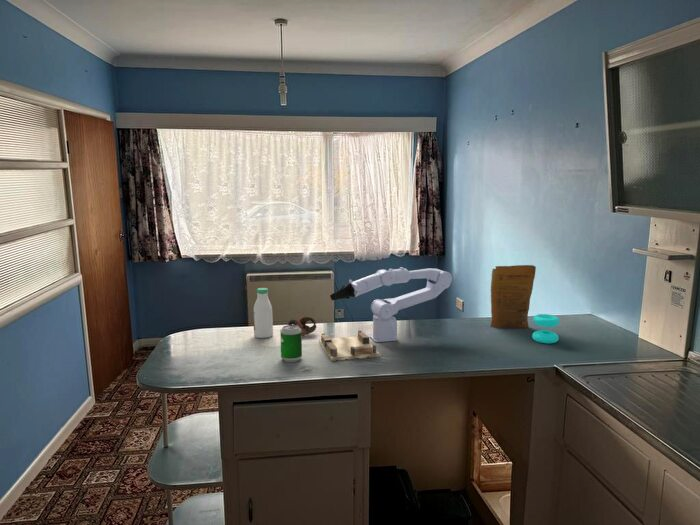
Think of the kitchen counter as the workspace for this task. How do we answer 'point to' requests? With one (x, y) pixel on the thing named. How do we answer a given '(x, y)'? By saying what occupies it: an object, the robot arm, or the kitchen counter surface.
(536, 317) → the donuts
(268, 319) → the milk bottle
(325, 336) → the folding leg
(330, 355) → the stool seat
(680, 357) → the kitchen counter surface
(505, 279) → the pancake mix bag
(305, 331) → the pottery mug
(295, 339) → the soda can
